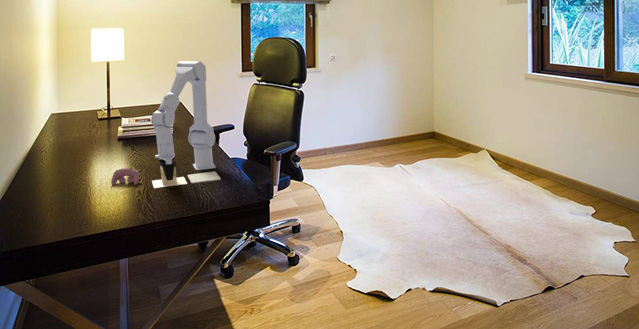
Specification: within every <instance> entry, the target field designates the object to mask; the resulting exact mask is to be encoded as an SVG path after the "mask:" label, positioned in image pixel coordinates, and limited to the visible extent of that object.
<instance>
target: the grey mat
mask: <svg viewBox="0 0 639 329" xmlns="http://www.w3.org/2000/svg"><path fill="white" fill-rule="evenodd" d="M186 177H187V178H188V180H189V181H190V183H191V184H200V183H206V182H214V181H220V180H222V178H221V177H220V175H219V174H218V173H217V172H216V171H208V172H201V173H200V172H199V173H192V174H187V176H186Z"/></svg>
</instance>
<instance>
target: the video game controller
mask: <svg viewBox="0 0 639 329" xmlns="http://www.w3.org/2000/svg"><path fill="white" fill-rule="evenodd" d="M125 177H127V178H125ZM139 177H140V172H139V170H137V169H135V168H130V167H125V168H124V167H122V168H120V169H116V170H115V171H114V172H113V174H112V177H111V180H110V183H111V186H115V185H116V184H117V182H119V183H120V184H125V183H126V181H127V183H129V184H133V185H134V186H136V185H138V183H139Z"/></svg>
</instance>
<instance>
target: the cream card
mask: <svg viewBox="0 0 639 329" xmlns="http://www.w3.org/2000/svg"><path fill="white" fill-rule="evenodd" d="M176 178H177V183H173V184H166V185H163V183H162V179H155V180H151V183H152V186H153V188H154V189H159V188H165V187H173V186H179V185H180V186H181V185H187V184H188V182H187V180H186V178H185V177H184V176H180V177H176Z"/></svg>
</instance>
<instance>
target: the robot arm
mask: <svg viewBox="0 0 639 329" xmlns="http://www.w3.org/2000/svg"><path fill="white" fill-rule="evenodd" d="M174 70H175V71H174V72H175V78H174V81H173V83H172V86H171V88H170V91H169V92H168V93H166V94H165V95H164V96H163V99H162V101H161V103H160V105H159V107H158V109H157V110H156V111H154V112H153V113H152V115H151V119H150V123H151V124H152V126H153V131H155V134H156V136H155V137H156V144H157V145H156V146H157V153H158V154H155V155H154V157H155V159H158V161H159V164H160V166H162V168H163V170H164V173H165V176H166V179H167V181H169V180H173V174H174V168H176V165H177V162H176V161H174V159H175V157H176V154H175V145H174V139H173V138H174V136H173V128H172V126H173V125H174V124H175V117H176V113H175V112H176V110H177V108H178V106H179V104H180V101H181V100H180V97H179V96H180V94H182V91H183V89H184V88H185V86H186V84H187V83H188V82H189V83H190V85H191V87H192V109H193V124H192V125H191V126H190V127H189V133H188V137H187V138H188V143H189V144H190V145H191V146H192V148H193V154H194V163H192V166H193V168H194V169H195V170H196V171H201V170H209V169H210V170H211V169H216V165H215V164H214V162H213V161H214V160H213V149H212V148H213V146H214V144H215V142H216V135H215V132H214V127H213V126H212V125H211V124H209V123H208V109H207V107H208V106H207V105H208V104H207V84H206V83H207V69H206V65H205V64H204V63H203V61H201V60H197V61H183V60H181V61H178V62H177V65H176V67H175V68H174Z"/></svg>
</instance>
